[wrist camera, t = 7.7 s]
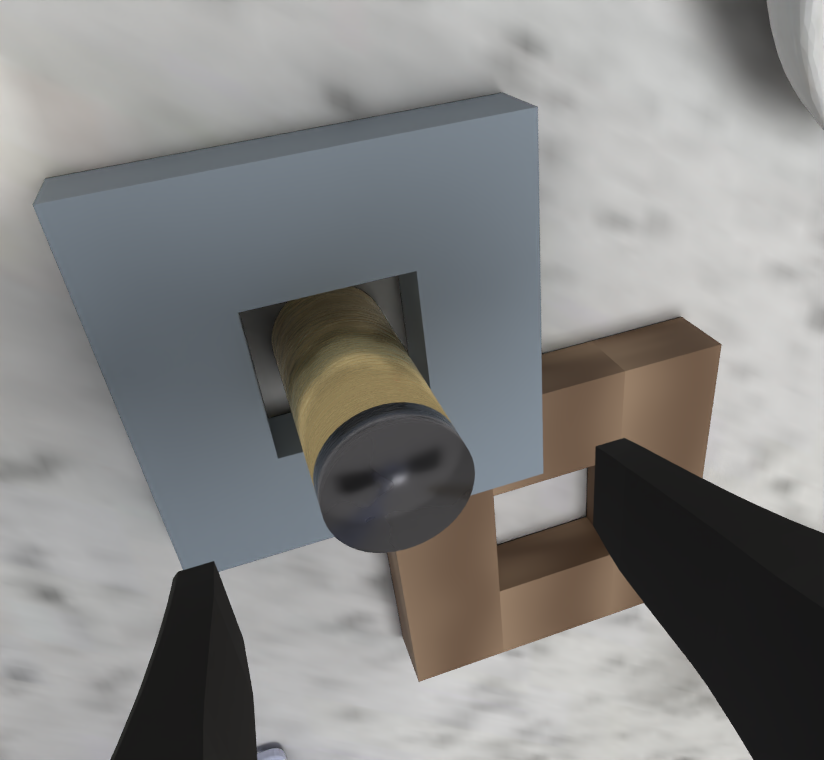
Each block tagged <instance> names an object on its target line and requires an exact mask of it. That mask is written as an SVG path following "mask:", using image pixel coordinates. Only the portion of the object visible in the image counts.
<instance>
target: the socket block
mask: <svg viewBox="0 0 824 760" xmlns="http://www.w3.org/2000/svg"><path fill="white" fill-rule="evenodd" d="M33 207H34V209H35V212H36V214H37V216H38V219H39V221H40V224H41V226H42V229H43V231H44V233H45V236H46V238H47V241H48V243H49V246H50V248H51V250H52V253H53V255H54V258H55V260H56V263H57V265H58V267H59V270H60V272H61V275H62V277H63V279H64V282H65V284H66V287H67V289H68V292H69V294H70V296H71V299H72V301H73V304H74V306H75V309H76V311H77V313H78V316H79V318H80V321H81V323H82V326H83V328H84V330H85V333H86V335H87V338H88V340H89V343H90V345H91V347H92V350H93V352H94V355H95V357H96V359H97V362H98V364H99V367H100V369H101V372H102V374H103V376H104V379H105V381H106V384H107V386H108V389H109V391H110V393H111V396H112V398H113V401H114V403H115V406H116V408H117V410H118V413H119V415H120V418H121V420H122V423H123V425H124V427H125V430H126V432H127V435H128V437H129V439H130V442H131V444H132V447H133V449H134V452H135V454H136V456H137V459H138V461H139V464H140V466H141V469H142V471H143V473H144V476H145V478H146V481H147V483H148V486H149V488H150V490H151V493H152V495H153V498H154V500H155V503H156V505H157V507H158V510H159V512H160V515H161V517H162V520H163V522H164V524H165V527H166V529H167V532H168V534H169V536H170V539H171V541H172V544H173V546H174V549H175V551H176V553H177V556H178V558H179V561H180V563H181V566H182V568H183V570H185V569H189V568H192V567H195V566H199V565H202V564H205V563H209V562H212V561H214V562H215V565H216V567H217V570H218V572H219V571H223V570H226V569H229V568H233V567H236V566H239V565H243V564H246V563H249V562H252V561H256V560H259V559H262V558H266V557H269V556H272V555H276V554H279V553H282V552H286V551H289V550H292V549H295V548H299V547H302V546H305V545H309V544H312V543H315V542H319V541H322V540H325V539H328V538H332V537H335V536H334V535H333V534H332V533H331V532H330V531H329V529H328V528H327V526H326V524H325V522H324V520H323V517H322V513H321V510H320V506H319V503H318V500H317V496H316V493H315V490H314V486H313V483H312V480H311V476H310V473H309V469H308V466H307V463H306V459H305V456H304V453H303V449H302V446H301V443H300V439H299V436H298V433H297V429H296V426H295V422H294V419H293V416H292V412H291V413H288V414H284V415H280V416H276V417H273V418H269V419H268V416H267V412H266V409H265V405H264V401H263V398H262V394H261V391H260V387H259V383H258V380H257V376H256V372H255V369H254V365H253V361H252V358H251V354H250V350H249V347H248V343H247V339H246V336H245V332H244V328H243V325H242V321H241V317H240V314H239V312H243V311H248V310H252V309H256V308H260V307H265V306H269V305H273V304H277V303H282V302H286V301H290V300H295V299H299V298H303V297H307V296H312V295H316V294H320V293H324V292H329V291H333V290H337V289H342V288H346V287H350V286H354V285H359V284H363V283H367V282H371V281H376V280H380V279H384V278H389V277H393V276H397V275H398V276H399V284H400V291H401V299H402V306H403V314H404V321H405V329H406V336H407V344H408V351H409V356H410V358H411V359H412V361H413V362H414V364H415V366H416V367H417V369H418V370H419V372H420V374H421V375H422V377H423V378H424V380H425V381H426V383H427V385H428V386H429V388H430V389H431V391H432V393H433V394H434V396H435V397H436V399H437V401H438V402H439V404H440V405H441V407H442V408H443V410H444V412H445V413H446V415H447V416H448V418H449V420H450V421H451V423H452V424H453V426H454V427H455V429H456V431H457V432H458V434H459V435H460V437H461V439H462V440H463V442H464V443H465V445H466V447H467V448H468V450H469V452H470V454H471V456H472V458H473V462H474V467H475V481H474V486H473V490H472V493H471V495H474V494H477V493H481V492H484V491H487V490H490V489H494V488H497V487H500V486H504V485H507V484H510V483H514V482H517V481H520V480H524V479H527V478H530V477H533V476H537V475H540V474H543V419H542V354H541V289H540V224H539V159H538V107H537V106H534V105H532V104H529V103H527V102H525V101H522V100H520V99H517V98H515V97H512V96H510V95H507V94H505V93H498V94H493V95H488V96H483V97H477V98H472V99H467V100H461V101H456V102H451V103H445V104H440V105H435V106H429V107H424V108H419V109H413V110H408V111H403V112H397V113H392V114H387V115H381V116H376V117H371V118H366V119H360V120H355V121H350V122H344V123H339V124H334V125H328V126H323V127H318V128H312V129H307V130H302V131H296V132H291V133H286V134H280V135H275V136H270V137H264V138H259V139H254V140H249V141H243V142H238V143H233V144H227V145H222V146H217V147H211V148H206V149H201V150H195V151H190V152H185V153H179V154H174V155H169V156H163V157H158V158H153V159H147V160H142V161H137V162H131V163H126V164H121V165H116V166H110V167H105V168H100V169H94V170H89V171H84V172H78V173H73V174H68V175H62V176H57V177H52V178H46V179H45V180H44V182H43V184H42V187H41V189H40V191H39V193H38V195H37V197H36V199H35V201H34V203H33ZM471 495H470V496H471Z"/></svg>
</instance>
